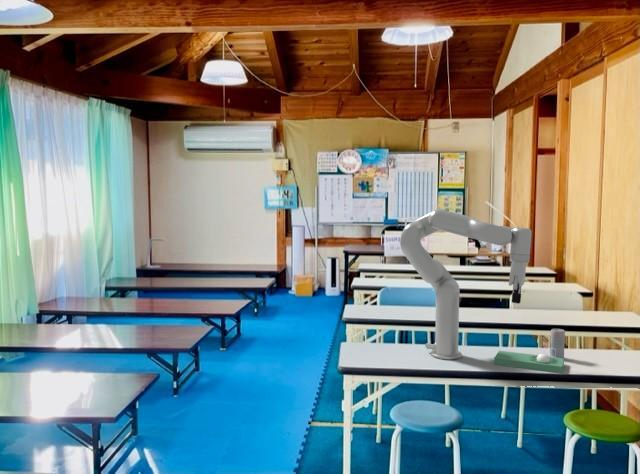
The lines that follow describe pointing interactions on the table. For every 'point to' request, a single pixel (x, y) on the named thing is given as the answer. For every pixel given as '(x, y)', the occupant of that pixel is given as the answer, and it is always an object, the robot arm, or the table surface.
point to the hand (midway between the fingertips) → (515, 302)
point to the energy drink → (557, 343)
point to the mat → (528, 361)
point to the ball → (543, 358)
